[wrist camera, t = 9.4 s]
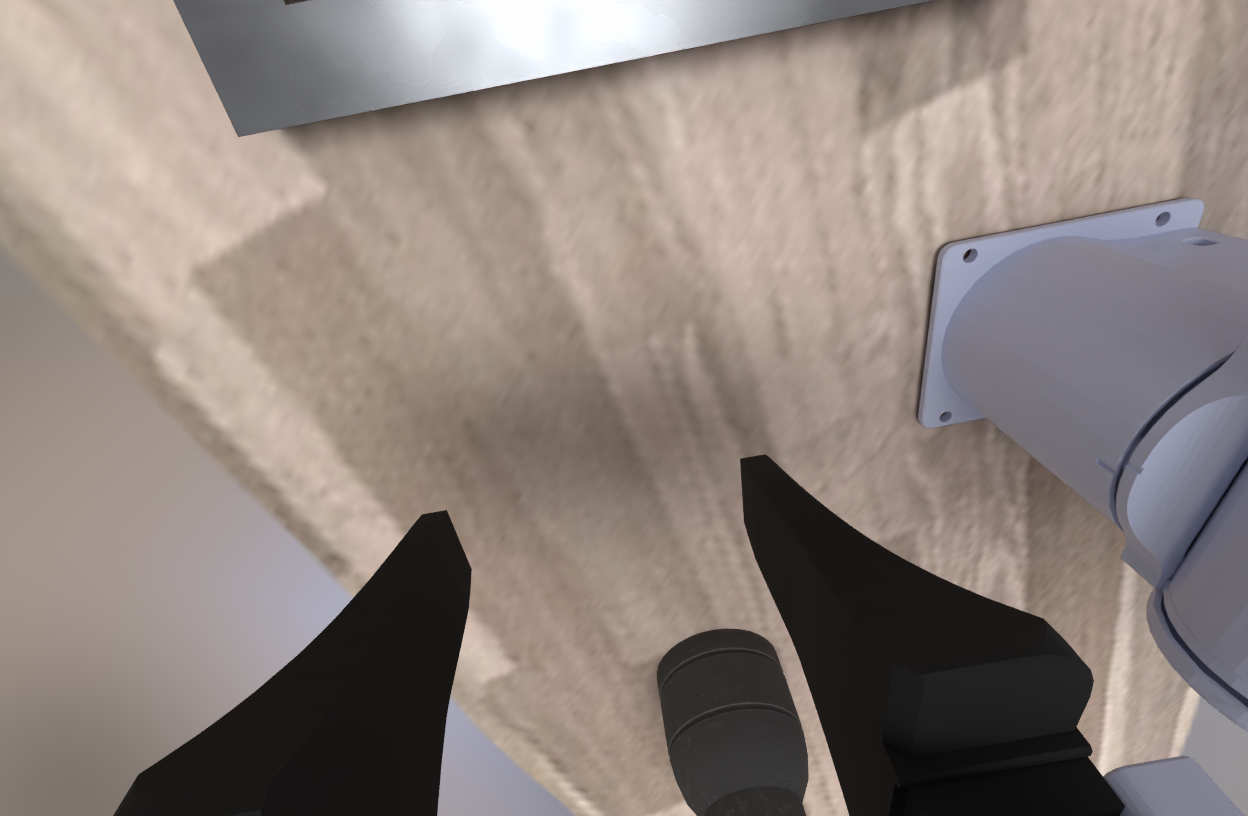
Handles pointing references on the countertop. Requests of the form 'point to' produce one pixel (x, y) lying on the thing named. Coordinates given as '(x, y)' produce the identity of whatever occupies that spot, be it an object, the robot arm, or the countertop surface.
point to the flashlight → (732, 726)
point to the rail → (448, 45)
